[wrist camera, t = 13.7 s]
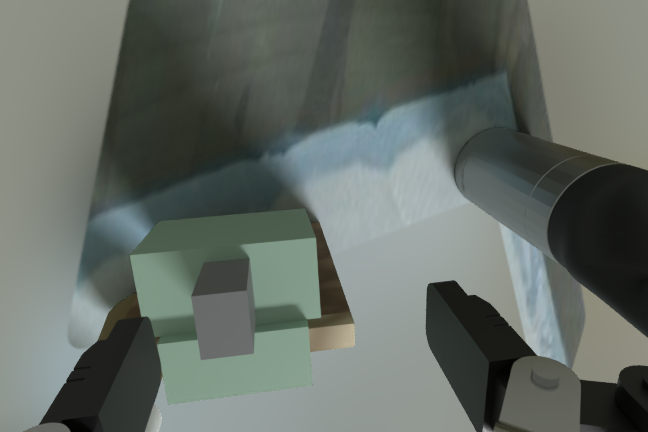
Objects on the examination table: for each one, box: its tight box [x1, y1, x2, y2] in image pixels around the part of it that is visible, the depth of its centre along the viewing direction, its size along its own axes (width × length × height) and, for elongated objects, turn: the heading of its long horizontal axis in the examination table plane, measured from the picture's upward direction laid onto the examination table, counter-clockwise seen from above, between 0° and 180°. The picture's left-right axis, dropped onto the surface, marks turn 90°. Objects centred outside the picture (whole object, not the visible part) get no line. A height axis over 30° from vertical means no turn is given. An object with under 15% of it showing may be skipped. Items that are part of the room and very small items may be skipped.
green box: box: [130, 208, 321, 405], centre depth 31 cm, size 12×11×13 cm
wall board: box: [125, 223, 355, 370], centre depth 40 cm, size 17×7×20 cm, turn 92°
